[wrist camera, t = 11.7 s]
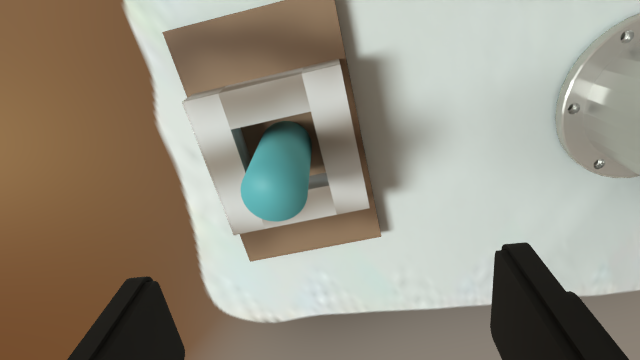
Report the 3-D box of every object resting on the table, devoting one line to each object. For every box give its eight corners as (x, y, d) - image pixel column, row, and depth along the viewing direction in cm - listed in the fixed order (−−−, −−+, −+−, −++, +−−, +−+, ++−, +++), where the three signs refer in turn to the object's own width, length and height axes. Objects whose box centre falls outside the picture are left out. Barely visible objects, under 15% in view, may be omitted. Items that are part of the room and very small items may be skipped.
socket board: (379, 230, 35) (385, 253, 32) (252, 254, 36) (245, 279, 33) (331, -12, 26) (332, -13, 23) (167, 30, 28) (147, 35, 25)
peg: (322, 151, 30) (321, 199, 23) (282, 177, 32) (269, 232, 24) (291, 110, 29) (279, 148, 22) (250, 140, 30) (226, 185, 23)
